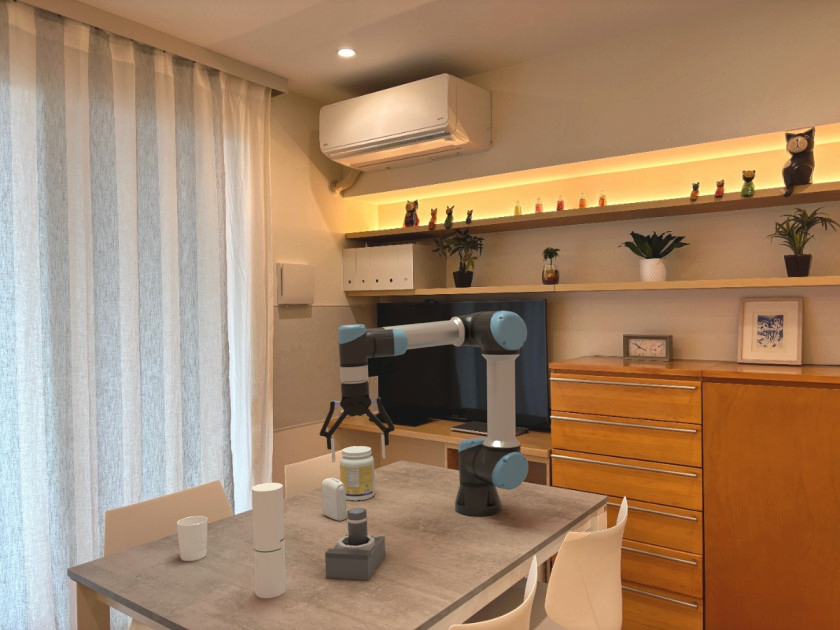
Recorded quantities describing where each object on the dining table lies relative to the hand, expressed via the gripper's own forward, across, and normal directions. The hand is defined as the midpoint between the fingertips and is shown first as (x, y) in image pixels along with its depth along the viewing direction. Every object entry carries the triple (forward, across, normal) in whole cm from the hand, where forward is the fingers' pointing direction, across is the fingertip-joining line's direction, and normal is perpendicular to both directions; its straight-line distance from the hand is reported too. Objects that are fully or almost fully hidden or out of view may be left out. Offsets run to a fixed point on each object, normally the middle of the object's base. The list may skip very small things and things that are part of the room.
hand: (358, 459), depth 170 cm
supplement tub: (+26, +2, -52) cm, 59 cm away
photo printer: (+26, +10, -32) cm, 42 cm away
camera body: (+26, +2, +8) cm, 27 cm away
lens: (+21, +1, +8) cm, 22 cm away
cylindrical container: (+25, +22, +20) cm, 39 cm away
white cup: (+25, +47, -5) cm, 53 cm away
